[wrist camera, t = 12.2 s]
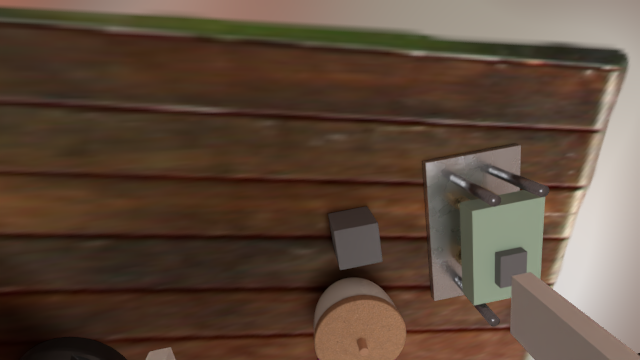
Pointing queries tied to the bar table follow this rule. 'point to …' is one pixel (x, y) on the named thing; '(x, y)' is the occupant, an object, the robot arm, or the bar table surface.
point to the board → (500, 244)
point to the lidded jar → (357, 323)
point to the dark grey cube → (355, 237)
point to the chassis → (444, 208)
